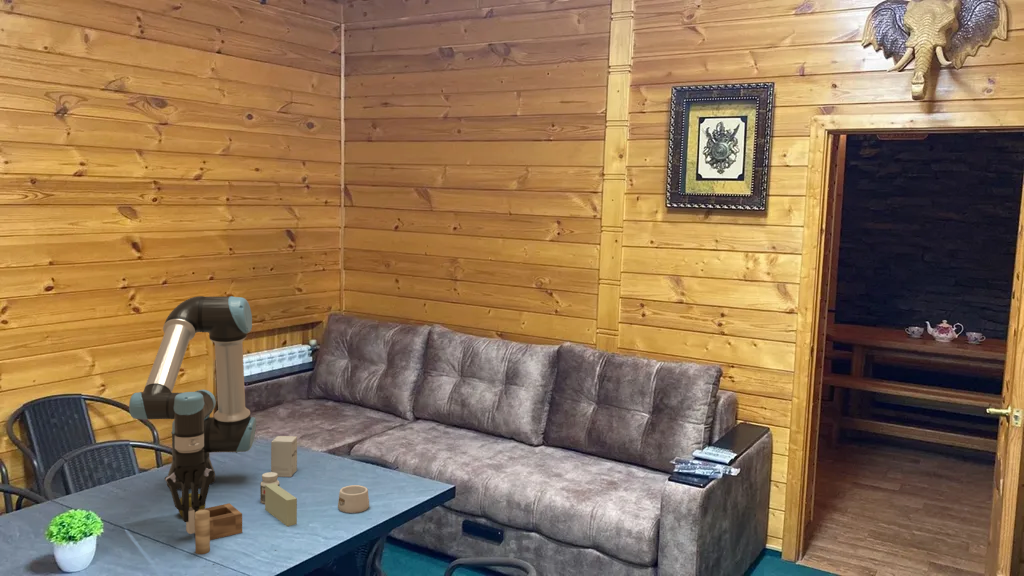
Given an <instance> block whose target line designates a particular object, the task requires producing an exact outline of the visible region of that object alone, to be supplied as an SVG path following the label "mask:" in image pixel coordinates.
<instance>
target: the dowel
mask: <svg viewBox="0 0 1024 576" xmlns="http://www.w3.org/2000/svg"><path fill="white" fill-rule="evenodd" d="M194 535H195V536H194V537H195V540H194V543H195V546H194V547H195V549H194V550H195V554H197V555H205V554H208V553H210V551H211V540H210V511H208V510H200V511H197V512H195V533H194Z"/></svg>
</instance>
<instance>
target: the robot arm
mask: <svg viewBox="0 0 1024 576" xmlns="http://www.w3.org/2000/svg"><path fill="white" fill-rule="evenodd" d="M252 327H253V315H252V309H251V307H250V304H249V301H248V300H247V299H246V298H245V297H240V296H233V295H231V296H203V295H201V296H193V297H190V298H188V299H186V300H184V301H182V302H181V303H179V304H178V305H177V306H176V307H175V308H174V309H173V310H171V312H170V313H169V314H168V316H167V318H166V320H165V322H164V324H163V327H162V331H163V337H162V340H161V342H160V344H159V345H160V346H159V348H158V351H157V353H156V355H155V359H154V361H153V364H152V366H151V370H150V372H149V375H148V377H147V380H146V383H145V386H144V388H143V390H142V391H143V392H142V391H139V392H134V393H133V394H132V395H131V396H130V398H129V402H128V410H129V414H130V416H131V417H132V418H133V419H135V420H146V421H148V420H173V421H172V424H171V425H172V426H171V427H172V428H171V445H172V446H171V447H172V448H171V450H172V451H171V453H172V454H171V457H172V460H171V465H170V467H169V468H170V469H169V470H168V473H167V476H165V477H164V481H165V482H166V485H167V487H169V491H170V494H171V497H172V501H173V504H174V508H175V509H177V511H178V510H179V511H180V510H182V517H181V518H182V521H183V523H185V527H186V528H185V531H186V532H187V533H188V534H189V535H192V534H195V512H197V511H198V510H199V507H200V506H204V505H205V502H207V498H208V493H209V488H210V485H212V484H213V483H215V481H216V473H215V470H214V467H213V463H212V461H211V457H210V453H236V454H237V453H245V452H249V451H250V450H251V448H252V447H253V444H254V440H255V435H256V431H257V430H256V429H257V418H256V417H254V416H252V415H251V410H250V409H249V408H247V407H246V394H245V392H246V391H245V371H244V369H245V368H244V367H245V365H244V349H243V347H244V346H243V342H244V341H245V339H247V337H248V334H249V333H250V332H251V331H252V330H253V329H252ZM197 333H209V335H208V336H209V340H210V341H211V342H212V343H214V355H215V356H214V357H215V374H216V389H217V390H216V391H217V392H216V393H217V401H216V397H215V395H214V394H213V392H211V391H209V390H207V389H199V390H196V391H185V392H173V390H174V387H175V385H176V381H177V379H178V375H179V374H180V373H179V372H180V370H181V367H182V363H183V361H184V357H185V355H186V351H187V349H188V346H189V343H190V341H192V340H193V339H194V337H195V336H196V334H197ZM216 403H217V409H218V410H216V412H215V413H214V414H213V417H212V416H210V415H211V414H212V412H214V411H213V410H214V409H215V408H216ZM199 489H200V492H199ZM178 490H181V497H182V505H181V502H180V498H181V497H180V494H179V492H178ZM190 490H191V492H190ZM190 493H191V505H192V507H191V508H189V494H190ZM198 494H200V495H199V496H198ZM205 506H206V505H205ZM179 511H178V512H179Z"/></svg>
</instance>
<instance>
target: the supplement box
mask: <svg viewBox="0 0 1024 576" xmlns="http://www.w3.org/2000/svg"><path fill="white" fill-rule="evenodd" d="M270 443H271V444H270V448H271V449H270V450H271V451H270V455H271V456H270V472H274V473H277V474H278V478H279V477H280V478H283V477H284V478H292V477H293V475H294V474H295V473H296V472H297V471H298V436H295V435H293V436H292V435H289V436H288V435H280V436H279V435H277V436H276V437H274V438H273V440H272V441H270Z"/></svg>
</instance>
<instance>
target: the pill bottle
mask: <svg viewBox="0 0 1024 576" xmlns="http://www.w3.org/2000/svg"><path fill="white" fill-rule="evenodd" d="M261 478H262V481H261V482H260V492H259V493H260V495H259V496H260V497H259V498H260V504H262V505H265V485H268V484H273V483H275V484H277V485H278V486H279V487H280V481H279V479H278V478H279V477H278V474H277V473H274V472H271V471H270V472H268V471H267V472H264V473H263V474H261Z"/></svg>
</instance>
